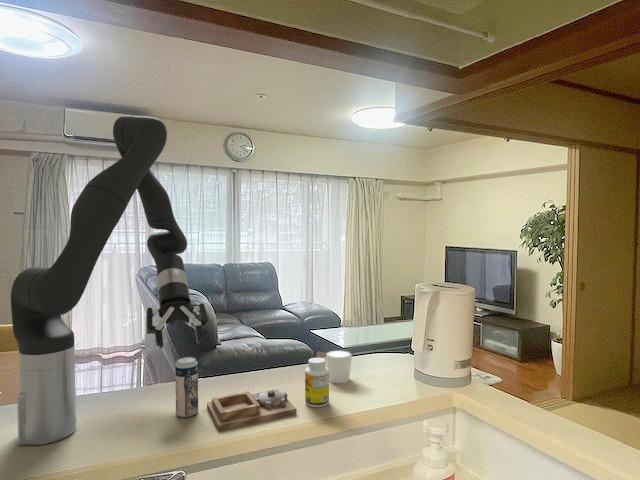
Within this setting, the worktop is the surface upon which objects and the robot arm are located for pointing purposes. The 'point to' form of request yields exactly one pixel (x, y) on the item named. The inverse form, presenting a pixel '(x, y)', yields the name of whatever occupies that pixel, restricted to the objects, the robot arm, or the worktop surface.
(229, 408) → the gear board
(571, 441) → the worktop surface
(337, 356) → the white cup
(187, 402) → the beer can
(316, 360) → the supplement bottle
